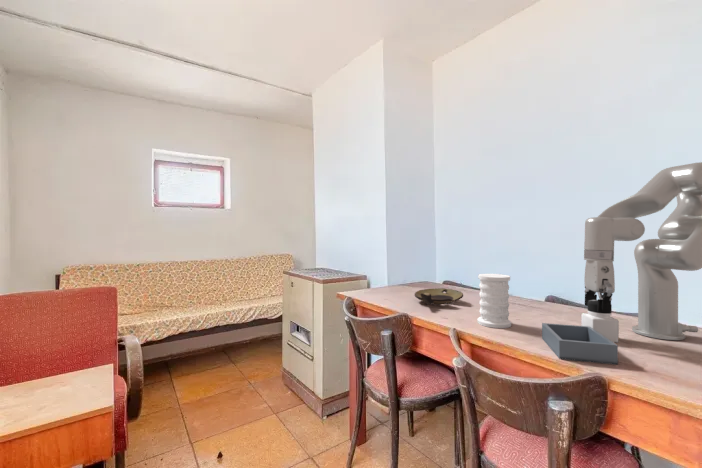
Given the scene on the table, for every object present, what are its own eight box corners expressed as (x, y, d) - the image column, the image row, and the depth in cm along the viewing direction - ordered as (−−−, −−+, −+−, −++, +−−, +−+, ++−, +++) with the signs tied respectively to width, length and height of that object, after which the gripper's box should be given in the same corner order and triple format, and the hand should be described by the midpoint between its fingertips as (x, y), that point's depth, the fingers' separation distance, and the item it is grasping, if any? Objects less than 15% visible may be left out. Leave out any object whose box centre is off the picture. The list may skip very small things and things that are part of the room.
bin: (589, 342, 97) (589, 326, 97) (617, 364, 81) (617, 345, 81) (542, 338, 101) (542, 322, 101) (559, 358, 85) (559, 340, 85)
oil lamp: (474, 304, 150) (474, 287, 150) (428, 313, 134) (428, 294, 134) (438, 296, 169) (438, 281, 169) (394, 303, 153) (394, 287, 153)
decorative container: (473, 319, 124) (473, 273, 124) (504, 319, 123) (504, 273, 123) (482, 327, 113) (482, 277, 113) (516, 328, 112) (516, 277, 111)
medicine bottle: (619, 343, 97) (619, 304, 97) (592, 341, 98) (592, 303, 98) (605, 335, 104) (605, 299, 104) (581, 334, 105) (581, 298, 105)
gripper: (627, 258, 92) (625, 317, 92) (600, 255, 108) (598, 305, 108) (596, 257, 94) (594, 314, 94) (574, 254, 110) (573, 302, 110)
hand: (596, 309), depth 101 cm, fingers open, 9 cm apart
